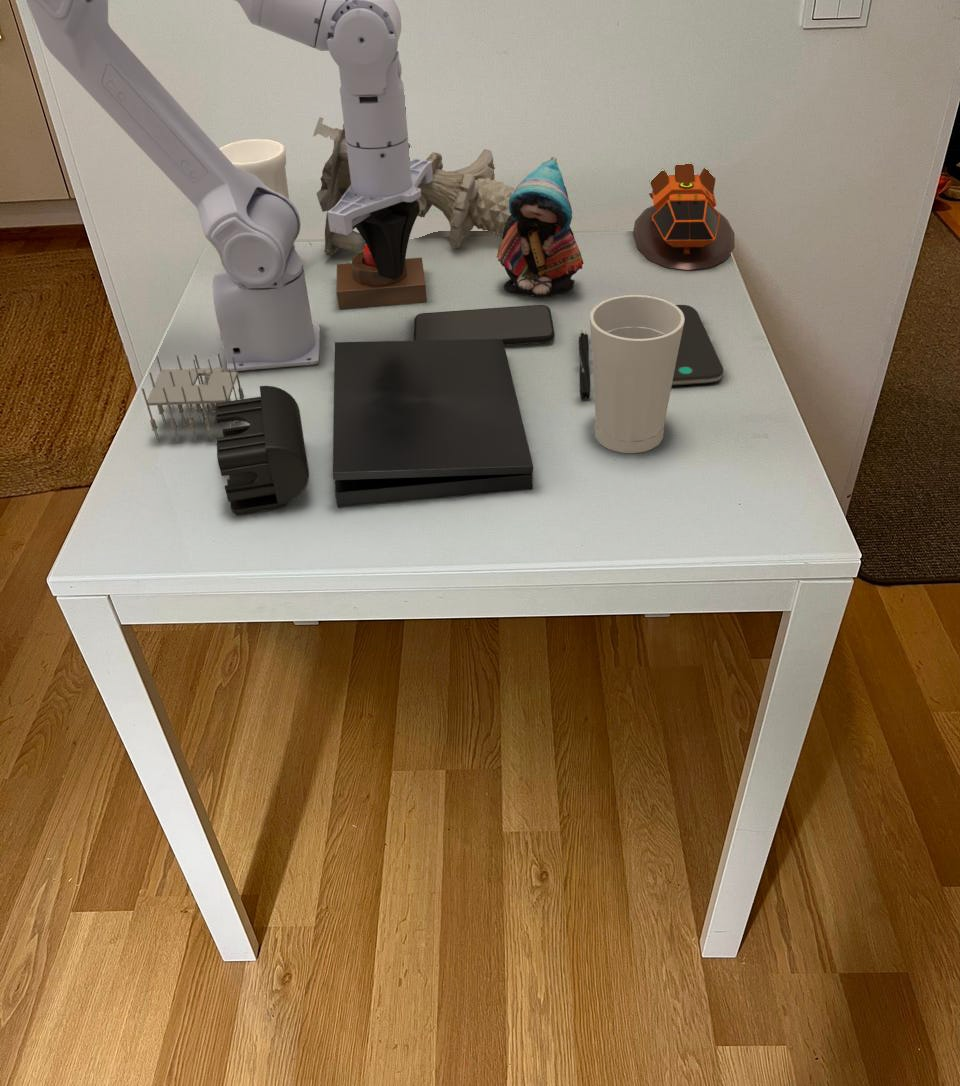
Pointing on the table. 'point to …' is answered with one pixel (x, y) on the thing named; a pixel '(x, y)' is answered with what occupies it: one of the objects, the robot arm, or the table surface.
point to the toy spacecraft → (683, 222)
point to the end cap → (262, 451)
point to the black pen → (584, 365)
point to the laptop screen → (426, 410)
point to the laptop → (425, 488)
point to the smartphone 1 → (488, 325)
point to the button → (368, 257)
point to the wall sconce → (423, 194)
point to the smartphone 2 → (695, 353)
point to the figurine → (540, 236)
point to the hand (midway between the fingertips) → (390, 275)
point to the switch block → (379, 284)
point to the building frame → (191, 392)
